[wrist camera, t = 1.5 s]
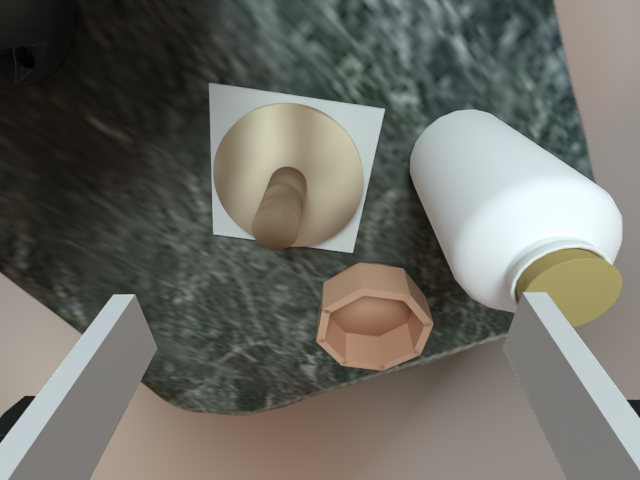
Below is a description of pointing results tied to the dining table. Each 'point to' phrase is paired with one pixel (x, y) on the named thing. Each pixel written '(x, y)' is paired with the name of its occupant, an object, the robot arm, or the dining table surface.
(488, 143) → the white bottle
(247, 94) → the mat
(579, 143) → the dining table surface
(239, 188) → the lid
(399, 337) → the bowl
